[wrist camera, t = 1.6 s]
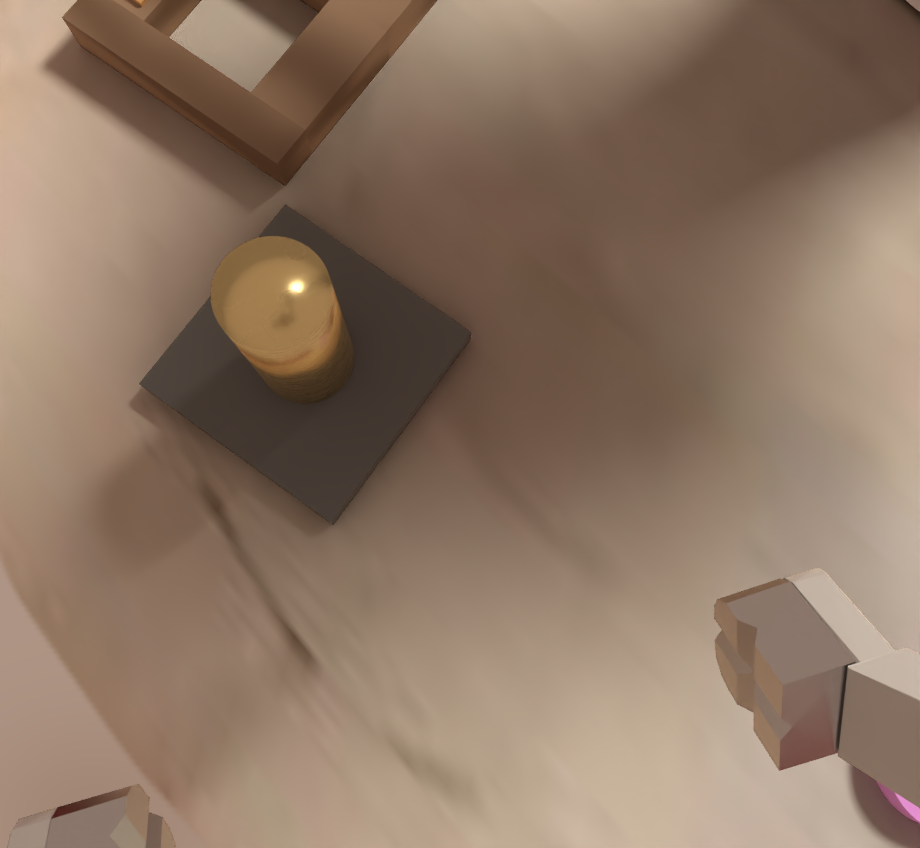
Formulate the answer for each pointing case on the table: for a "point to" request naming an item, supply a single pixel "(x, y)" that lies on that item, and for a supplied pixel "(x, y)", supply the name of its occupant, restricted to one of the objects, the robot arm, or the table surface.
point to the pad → (332, 420)
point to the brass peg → (284, 317)
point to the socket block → (277, 95)
